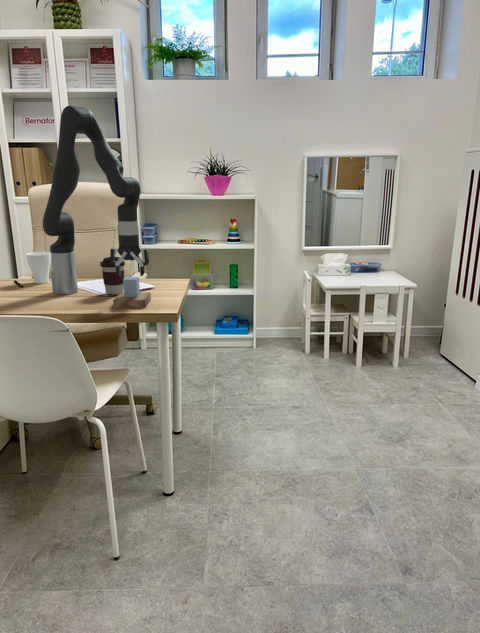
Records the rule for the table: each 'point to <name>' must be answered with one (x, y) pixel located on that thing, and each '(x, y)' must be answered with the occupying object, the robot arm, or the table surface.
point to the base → (132, 300)
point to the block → (131, 287)
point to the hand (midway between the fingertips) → (130, 275)
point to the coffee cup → (112, 276)
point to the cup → (39, 266)
